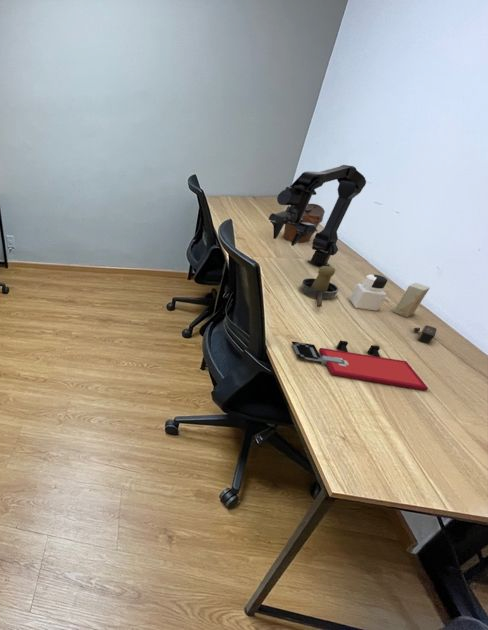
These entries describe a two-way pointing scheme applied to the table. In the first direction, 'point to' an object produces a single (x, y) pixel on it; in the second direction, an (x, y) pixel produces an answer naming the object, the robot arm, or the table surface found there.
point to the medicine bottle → (369, 293)
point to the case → (311, 216)
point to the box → (411, 299)
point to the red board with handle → (362, 365)
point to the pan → (311, 292)
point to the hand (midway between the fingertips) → (283, 242)
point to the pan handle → (319, 299)
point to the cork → (323, 278)
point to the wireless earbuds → (426, 333)
